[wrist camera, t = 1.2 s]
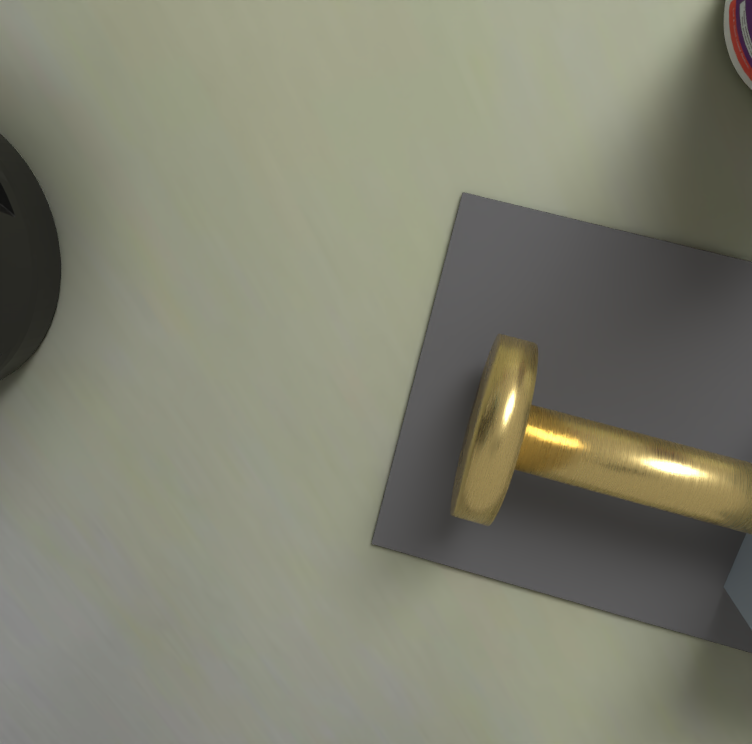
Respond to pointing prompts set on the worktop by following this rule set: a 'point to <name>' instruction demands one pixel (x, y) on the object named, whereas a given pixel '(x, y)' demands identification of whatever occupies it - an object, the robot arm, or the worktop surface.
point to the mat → (582, 410)
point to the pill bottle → (739, 36)
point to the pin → (583, 453)
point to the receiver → (742, 580)
